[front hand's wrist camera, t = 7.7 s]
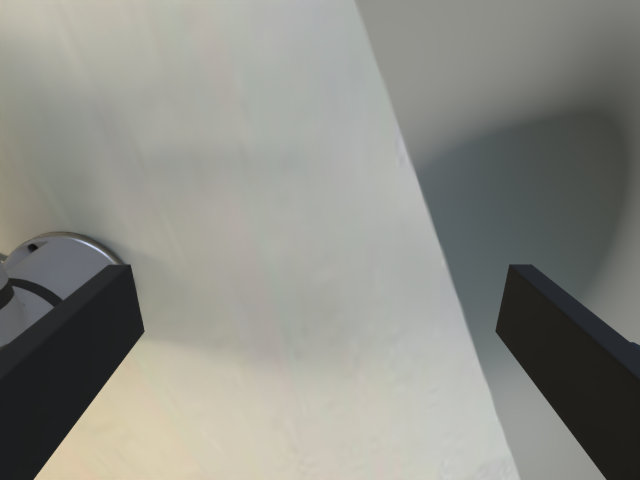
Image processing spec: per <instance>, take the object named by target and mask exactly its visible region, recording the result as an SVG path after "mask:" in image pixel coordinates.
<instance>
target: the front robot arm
mask: <svg viewBox="0 0 640 480" xmlns="http://www.w3.org/2000/svg"><path fill="white" fill-rule="evenodd" d="M143 333H144V326H143V321H142V317H141V312H140V307H139V302H138V298H137V293H136V288H135V283H134V279H133V274H132V269H131V265H124V264H123V263H122V262H121V261H120V259H119V258H118V257H117V256H116V255H115V254H114V253H112V252H111V251H110V250H109V249H107V248H106V247H105V246H103V245H102V244H100V243H98V242H96V241H94V240H92V239H90V238H88V237H85V236H82V235H78V234H74V233H68V232H52V233H46V234H43V235H39V236H37V237H35V238H33V239H31V240H29V241H27V242H25V243H23V244H21V245H20V246H19V247H17V248H16V249H15V250H14V251H13V252H12V253H11V254H10V255H9V256H8V257H7V258H6V260H5V261H4V262H3V263H2V262H1V260H0V480H34V478H35V477H36V476H37V474H38V473H39V472H40V470H41V469H42V468H43V466H44V465H45V464H46V462H47V461H48V460H49V458H50V457H51V456H52V454H53V453H54V452H55V450H56V449H57V448H58V446H59V445H60V444H61V442H62V441H63V440H64V438H65V437H66V436H67V434H68V433H69V432H70V430H71V429H72V428H73V426H74V425H75V424H76V422H77V421H78V420H79V418H80V417H81V416H82V414H83V413H84V412H85V410H86V409H87V408H88V406H89V405H90V404H91V402H92V401H93V400H94V398H95V397H96V396H97V394H98V393H99V392H100V390H101V389H102V388H103V386H104V385H105V384H106V382H107V381H108V380H109V378H110V377H111V376H112V374H113V373H114V372H115V370H116V369H117V368H118V366H119V365H120V364H121V362H122V361H123V360H124V358H125V357H126V356H127V354H128V353H129V352H130V350H131V349H132V348H133V346H134V345H135V344H136V342H137V341H138V340H139V338H140V337H141V336H142V334H143ZM496 333H497V334H498V336H499V337H500V338H501V339H502V341H503V342H504V343H505V345H506V346H507V348H508V349H509V350H510V351H511V353H512V354H513V356H514V357H515V358H516V360H517V361H518V362H519V364H520V365H521V366H522V368H523V369H524V370H525V372H526V373H527V374H528V376H529V377H530V378H531V379H532V381H533V382H534V383H535V385H536V386H537V388H538V389H539V390H540V391H541V393H542V394H543V396H544V397H545V398H546V399H547V401H548V402H549V404H550V405H551V406H552V408H553V409H554V410H555V412H556V413H557V414H558V415H559V417H560V418H561V420H562V421H563V422H564V424H565V425H566V426H567V427H568V429H569V430H570V431H571V433H572V434H573V436H574V437H575V438H576V440H577V441H578V442H579V443H580V445H581V446H582V448H583V449H584V450H585V452H586V453H587V454H588V456H589V457H590V458H591V460H592V461H593V462H594V463H595V465H596V466H597V468H598V469H599V470H600V471H601V473H602V474H603V476H604V477H605V478H606V480H640V345H638V344H636V343H634V342H629V341H628V340H626V339H625V338H624V337H622V336H621V335H620V334H619V333H617V332H616V331H615V330H614V329H612V328H611V327H610V326H609V325H607V324H606V323H605V322H604V321H602V320H601V319H600V318H598V317H597V316H596V315H595V314H593V313H592V312H591V311H590V310H588V309H587V308H586V307H584V306H583V305H582V304H581V303H580V302H578V301H577V300H576V299H574V298H573V297H572V296H571V295H569V294H568V293H567V292H566V291H564V290H563V289H562V288H560V287H559V286H558V285H557V284H555V283H554V282H553V281H552V280H550V279H549V278H548V277H547V276H545V275H544V274H543V273H542V272H540V271H539V270H538V269H536V268H535V267H534V266H533V265H509V269H508V274H507V279H506V283H505V288H504V293H503V298H502V303H501V307H500V312H499V317H498V321H497V326H496Z"/></svg>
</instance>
